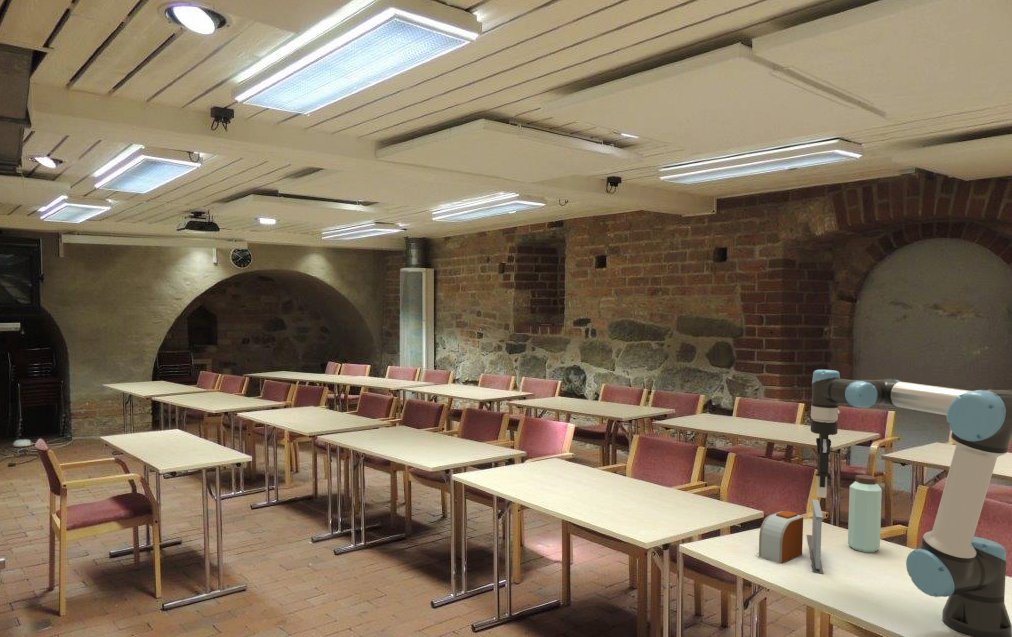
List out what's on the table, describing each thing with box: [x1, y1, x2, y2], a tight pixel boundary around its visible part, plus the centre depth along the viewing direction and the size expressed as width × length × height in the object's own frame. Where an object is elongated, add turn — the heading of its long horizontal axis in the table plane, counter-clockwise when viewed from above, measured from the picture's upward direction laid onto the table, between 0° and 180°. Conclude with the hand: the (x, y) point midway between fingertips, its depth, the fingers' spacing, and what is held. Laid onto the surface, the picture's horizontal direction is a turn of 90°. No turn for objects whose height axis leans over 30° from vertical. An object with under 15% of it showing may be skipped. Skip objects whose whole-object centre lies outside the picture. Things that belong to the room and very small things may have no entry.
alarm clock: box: [758, 510, 804, 564], centre depth 235 cm, size 15×8×14 cm, turn 130°
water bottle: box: [847, 474, 883, 553], centre depth 243 cm, size 10×10×25 cm
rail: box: [806, 534, 825, 575], centre depth 237 cm, size 39×3×1 cm, turn 160°
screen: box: [811, 499, 824, 569], centre depth 231 cm, size 22×2×16 cm, turn 160°
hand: (821, 496), depth 215 cm, fingers closed
